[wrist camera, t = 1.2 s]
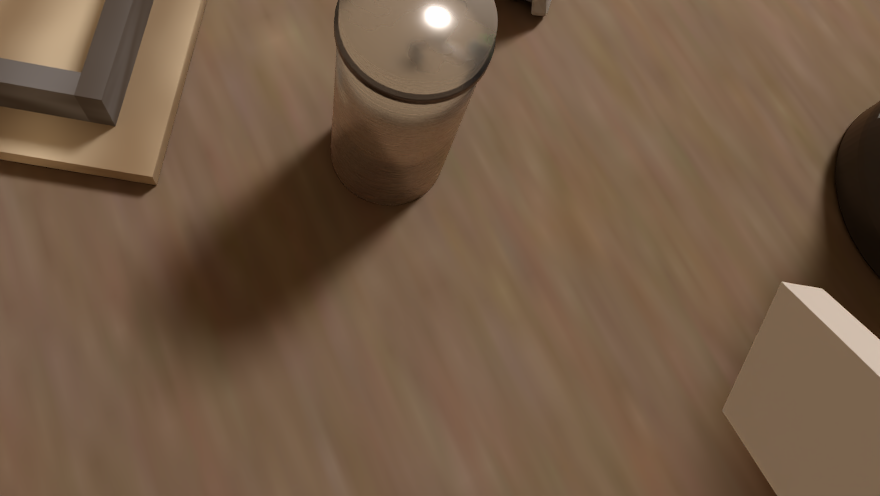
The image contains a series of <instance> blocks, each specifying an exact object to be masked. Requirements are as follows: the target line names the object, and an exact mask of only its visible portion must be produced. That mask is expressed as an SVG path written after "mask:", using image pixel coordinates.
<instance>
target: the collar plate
mask: <svg viewBox="0 0 880 496" xmlns="http://www.w3.org/2000/svg"><path fill="white" fill-rule="evenodd" d="M206 2H207V0H0V159H1V160H7V161H13V162H19V163H25V164H31V165H37V166H43V167H49V168H55V169H61V170H67V171H73V172H79V173H85V174H91V175H98V176H104V177H110V178H116V179H122V180H128V181H134V182H140V183H146V184H152V185H157V182H158V179H159V175H160V171H161V168H162V164H163V160H164V157H165V153H166V149H167V146H168V142H169V138H170V135H171V131H172V127H173V124H174V120H175V116H176V113H177V109H178V105H179V101H180V98H181V94H182V90H183V87H184V83H185V79H186V76H187V72H188V68H189V65H190V61H191V57H192V54H193V50H194V46H195V43H196V39H197V35H198V32H199V28H200V24H201V21H202V17H203V13H204V10H205V6H206Z"/></svg>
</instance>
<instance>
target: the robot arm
mask: <svg viewBox="0 0 880 496" xmlns="http://www.w3.org/2000/svg"><path fill="white" fill-rule="evenodd" d="M836 189H837V196H838V201H839V205H840V209H841V212H842V215H843V218H844V221H845V223H846V226H847V228H848V231H849V233H850V235H851V237H852V239H853V241H854V242H855V244H856V246H857V248H858V249H859V251H860V252H861V254H862V256H863V257H864V258H865V260H866V261H867V263H868V264H869V265H870V267H871V268H872V269H873V270H874V271H875V273H876V274H877V275H878V276H879V277H880V101H879V102H878V103H876V104H875V105H873V106H872V107H870V108H869V109H867V110H866V111H864V112H863V113H862V114H861V115H860V116H858V117H857V119H856V120H855V121H854V122H853V123H852V124H851V126H850V127H849V129H848V130H847V132H846V134H845V136H844V138H843V140H842V142H841V145H840V148H839V152H838V156H837V162H836ZM722 412H723V413H724V415H725V416H726V418H727V419H728V421H729V422H730V424H731V425H732V427H733V429H734V430H735V432H736V433H737V435H738V436H739V438H740V439H741V441H742V442H743V444H744V446H745V447H746V449H747V450H748V452H749V453H750V455H751V456H752V458H753V459H754V461H755V463H756V464H757V466H758V467H759V469H760V470H761V472H762V473H763V475H764V476H765V478H766V479H767V481H768V483H769V484H770V486H771V487H772V489H773V490H774V492H775V493H776V495H777V496H880V339H878V338H877V337H876V336H875V335H874V334H873V333H872V332H871V331H869V330H868V329H867V328H866V327H865V326H864V325H863V324H862V323H860V322H859V321H858V320H857V319H856V318H855V317H854V316H853V315H851V314H850V313H849V312H848V311H847V310H846V309H845V308H844V307H842V306H841V305H840V304H839V303H838V302H837V301H836V300H835V299H833V298H832V297H831V296H830V295H829V294H828V293H827V292H826V291H824V290H823V289H822V288H816V287H810V286H804V285H798V284H792V283H786V282H781V284H780V286H779V288H778V290H777V292H776V294H775V297H774V299H773V301H772V303H771V305H770V307H769V310H768V312H767V314H766V316H765V318H764V320H763V323H762V325H761V327H760V329H759V331H758V333H757V335H756V338H755V340H754V342H753V344H752V346H751V348H750V351H749V353H748V355H747V357H746V359H745V361H744V364H743V366H742V368H741V370H740V372H739V374H738V377H737V379H736V381H735V383H734V385H733V387H732V390H731V392H730V394H729V396H728V398H727V400H726V403H725V405H724V407H723V409H722Z"/></svg>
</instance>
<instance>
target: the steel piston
mask: <svg viewBox="0 0 880 496" xmlns="http://www.w3.org/2000/svg"><path fill="white" fill-rule="evenodd" d="M497 28H498V16H497V9H496V5H495V1H494V0H338V2H337V6H336V9H335V17H334V37H335V42H336V46H337V50H336V67H335V84H334V101H333V118H332V135H331V160H332V164H333V167H334V170H335V172H336V174H337V176H338V177H339V179H340V180H341V182H342V183H343V184H344V185H345V186H346V188H348V189H349V190H350V191H351V192H352V193H354V194H355V195H357V196H358V197H360V198H362V199H364V200H366V201H369V202H372V203H376V204H381V205H399V204H404V203H408V202H411V201H413V200H416V199H417V198H419V197H421V196H422V195H424V194H425V193H426V192H428V190H429V189H430V188H431V187H432V186H433V185H434V183H435V182H436V180H437V179H438V177H439V175H440V172H441V170H442V167H443V165H444V162H445V160H446V157H447V155H448V153H449V150H450V148H451V145H452V143H453V140H454V138H455V135H456V133H457V131H458V128H459V126H460V123H461V121H462V118H463V116H464V114H465V111H466V109H467V106H468V104H469V101H470V99H471V96H472V94H473V92H474V89H475V87H476V84H477V82H478V81H479V80H480V79H481V77H482V76H483V75H484V73H485V71H486V69H487V67H488V65H489V63H490V60H491V58H492V55H493V52H494V47H495V37H496V33H497Z"/></svg>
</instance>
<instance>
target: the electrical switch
mask: <svg viewBox="0 0 880 496" xmlns="http://www.w3.org/2000/svg"><path fill="white" fill-rule="evenodd" d="M526 1H529V2H532V9H531V14H532V15H538V16H545V15H546V14H547V13H548V9H549V6H550V2H551V0H526Z"/></svg>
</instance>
